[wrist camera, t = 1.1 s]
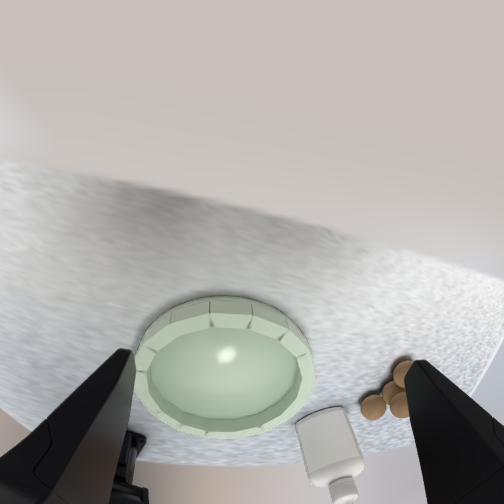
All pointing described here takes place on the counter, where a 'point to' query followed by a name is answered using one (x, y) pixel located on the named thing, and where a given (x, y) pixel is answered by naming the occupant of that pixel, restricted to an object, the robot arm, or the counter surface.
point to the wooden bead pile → (389, 396)
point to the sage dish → (223, 368)
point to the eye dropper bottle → (331, 453)
